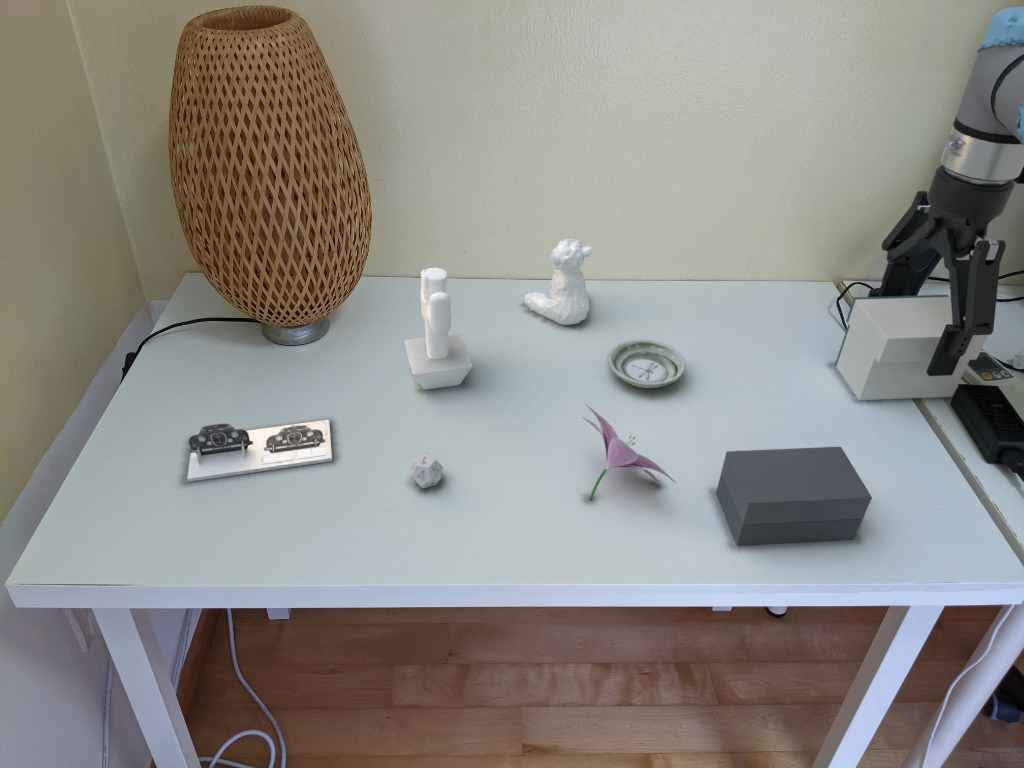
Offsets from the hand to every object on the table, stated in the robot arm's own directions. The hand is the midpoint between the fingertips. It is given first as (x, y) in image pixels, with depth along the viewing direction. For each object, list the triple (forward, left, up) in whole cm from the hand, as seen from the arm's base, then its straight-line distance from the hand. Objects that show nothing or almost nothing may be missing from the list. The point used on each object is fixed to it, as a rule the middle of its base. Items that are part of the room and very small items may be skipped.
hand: (909, 340), depth 94 cm
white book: (0, 0, 0) cm, 0 cm away
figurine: (+28, +50, -7) cm, 58 cm away
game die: (+12, +59, -7) cm, 60 cm away
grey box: (-10, +29, -6) cm, 31 cm away
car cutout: (+25, +73, -7) cm, 77 cm away
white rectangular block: (0, 0, -6) cm, 6 cm away
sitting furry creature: (+33, +28, -7) cm, 44 cm away
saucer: (+16, +27, -7) cm, 32 cm away
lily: (+2, +41, -7) cm, 42 cm away
